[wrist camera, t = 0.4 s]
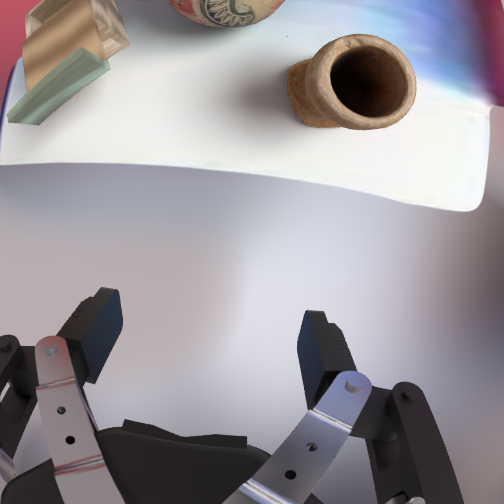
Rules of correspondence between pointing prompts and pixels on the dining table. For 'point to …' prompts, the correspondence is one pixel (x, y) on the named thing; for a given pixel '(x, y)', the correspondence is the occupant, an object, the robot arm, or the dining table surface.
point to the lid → (59, 62)
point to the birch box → (104, 15)
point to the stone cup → (353, 84)
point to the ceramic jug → (226, 11)
